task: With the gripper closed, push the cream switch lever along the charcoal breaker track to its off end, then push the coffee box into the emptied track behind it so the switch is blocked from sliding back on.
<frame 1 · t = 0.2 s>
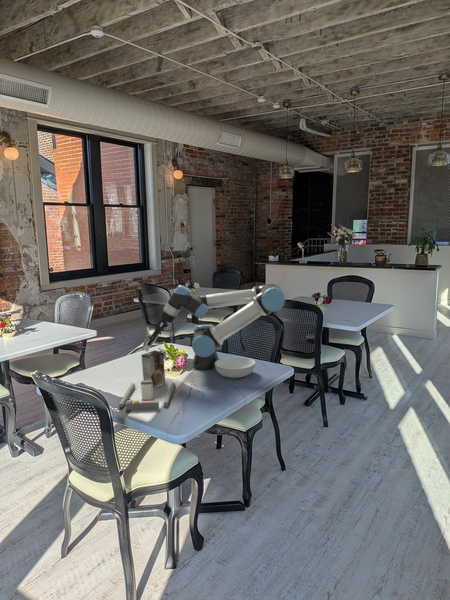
hand: (147, 346, 227), 16 cm above the table, tool tilted 35°, fingers open, 13 cm apart
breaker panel: (148, 396, 202), on the table
coffee box: (154, 385, 217), on the table
serving bowl: (235, 375, 227), on the table
switch lever: (147, 389, 199), point 4 cm above the table, slide at 0.0 cm
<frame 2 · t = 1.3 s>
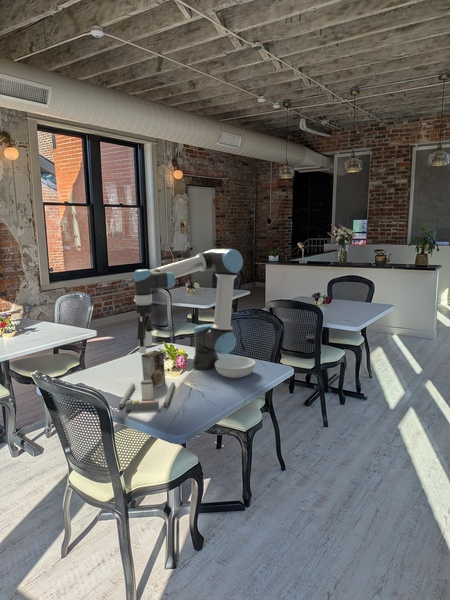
hand: (146, 349, 203), 21 cm above the table, tool pointing down, fingers open, 13 cm apart
nothing on the table moved.
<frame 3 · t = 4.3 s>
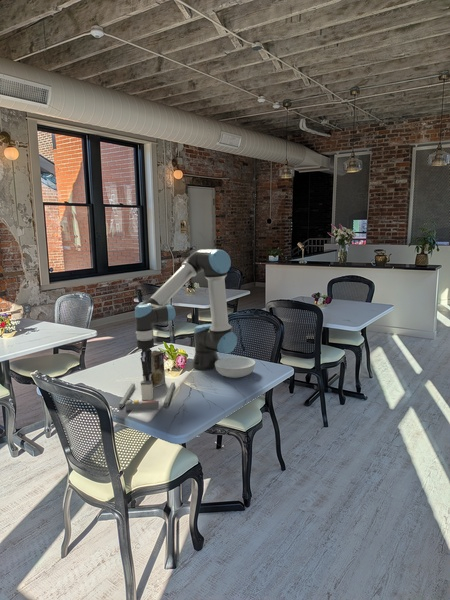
hand: (148, 388, 203), 4 cm above the table, tool pointing down, fingers closed
switch lever: (147, 389, 199), point 4 cm above the table, slide at 0.3 cm, touching gripper
everything else where it was.
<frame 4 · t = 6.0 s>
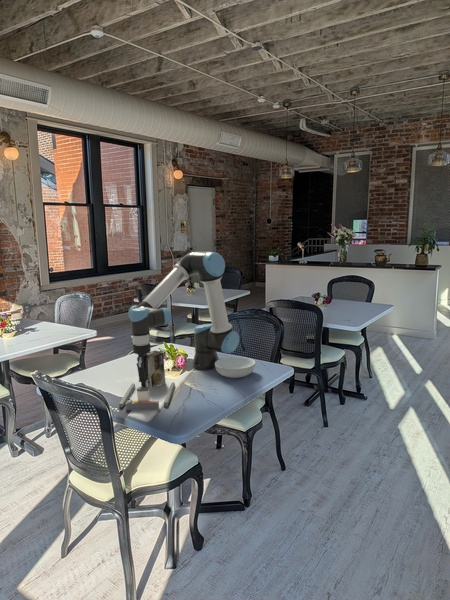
hand: (145, 394, 195), 4 cm above the table, tool pointing down, fingers closed
switch lever: (143, 396, 191), point 4 cm above the table, slide at 8.1 cm, touching gripper
everything else where it was.
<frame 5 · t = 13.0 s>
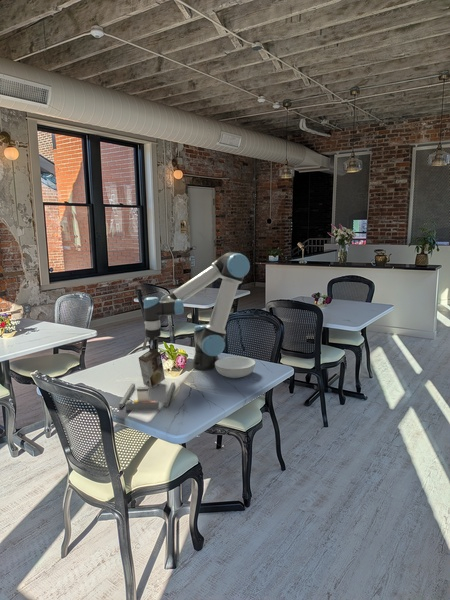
hand: (155, 373, 222), 4 cm above the table, tool pointing down, fingers closed
coffee box: (154, 382, 217), point 1 cm above the table, touching gripper, hand
switch lever: (143, 396, 192), point 4 cm above the table, slide at 8.1 cm
everything else where it was.
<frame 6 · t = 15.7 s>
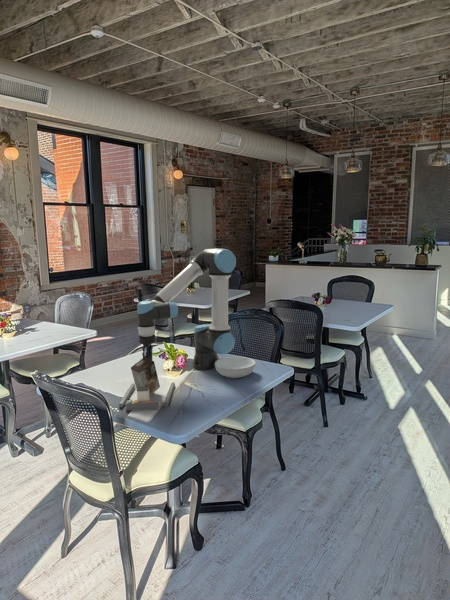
hand: (149, 382, 209), 4 cm above the table, tool pointing down, fingers closed
coffee box: (148, 390, 205), point 2 cm above the table, touching gripper, hand
everything else where it was.
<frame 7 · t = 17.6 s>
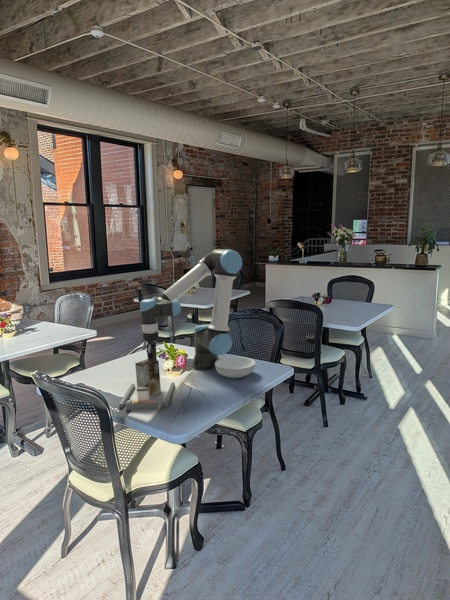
hand: (154, 378, 214), 4 cm above the table, tool pointing down, fingers closed
coffee box: (149, 395, 204), on the table
everything else where it was.
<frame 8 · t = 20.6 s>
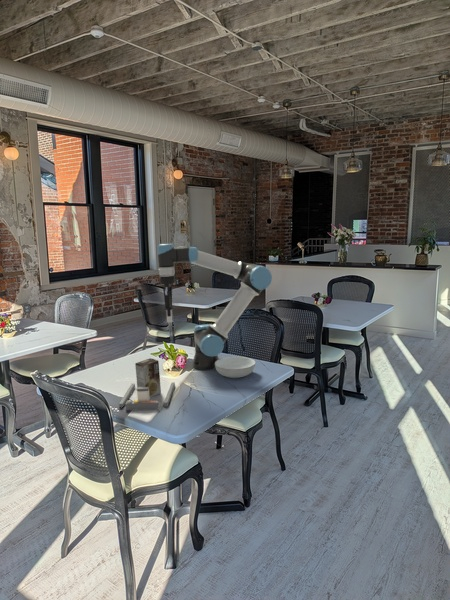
hand: (169, 322, 220), 29 cm above the table, tool pointing down, fingers closed
nothing on the table moved.
at the end: switch lever slide at 8.1 cm; coffee box inside the target area (1.5 cm from its centre), on the table; coffee box tilted 0° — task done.
